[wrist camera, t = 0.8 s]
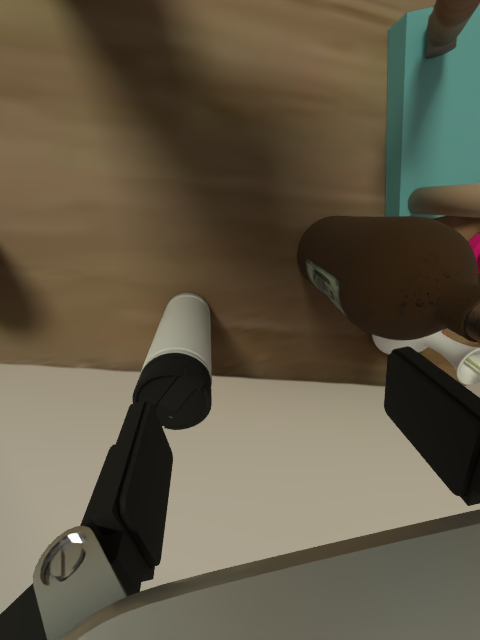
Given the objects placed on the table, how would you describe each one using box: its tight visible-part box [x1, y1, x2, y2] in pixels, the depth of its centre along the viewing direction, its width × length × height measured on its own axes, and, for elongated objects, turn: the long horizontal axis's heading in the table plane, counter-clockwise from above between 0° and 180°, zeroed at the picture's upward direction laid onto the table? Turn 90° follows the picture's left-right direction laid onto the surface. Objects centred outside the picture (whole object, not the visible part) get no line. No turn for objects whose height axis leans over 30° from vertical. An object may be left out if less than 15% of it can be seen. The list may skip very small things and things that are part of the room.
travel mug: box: [133, 292, 212, 430], centre depth 30 cm, size 6×7×20 cm
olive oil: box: [297, 216, 480, 343], centre depth 27 cm, size 11×11×25 cm
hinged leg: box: [426, 0, 480, 59], centre depth 22 cm, size 3×3×14 cm
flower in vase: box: [372, 330, 480, 385], centre depth 33 cm, size 13×11×25 cm
